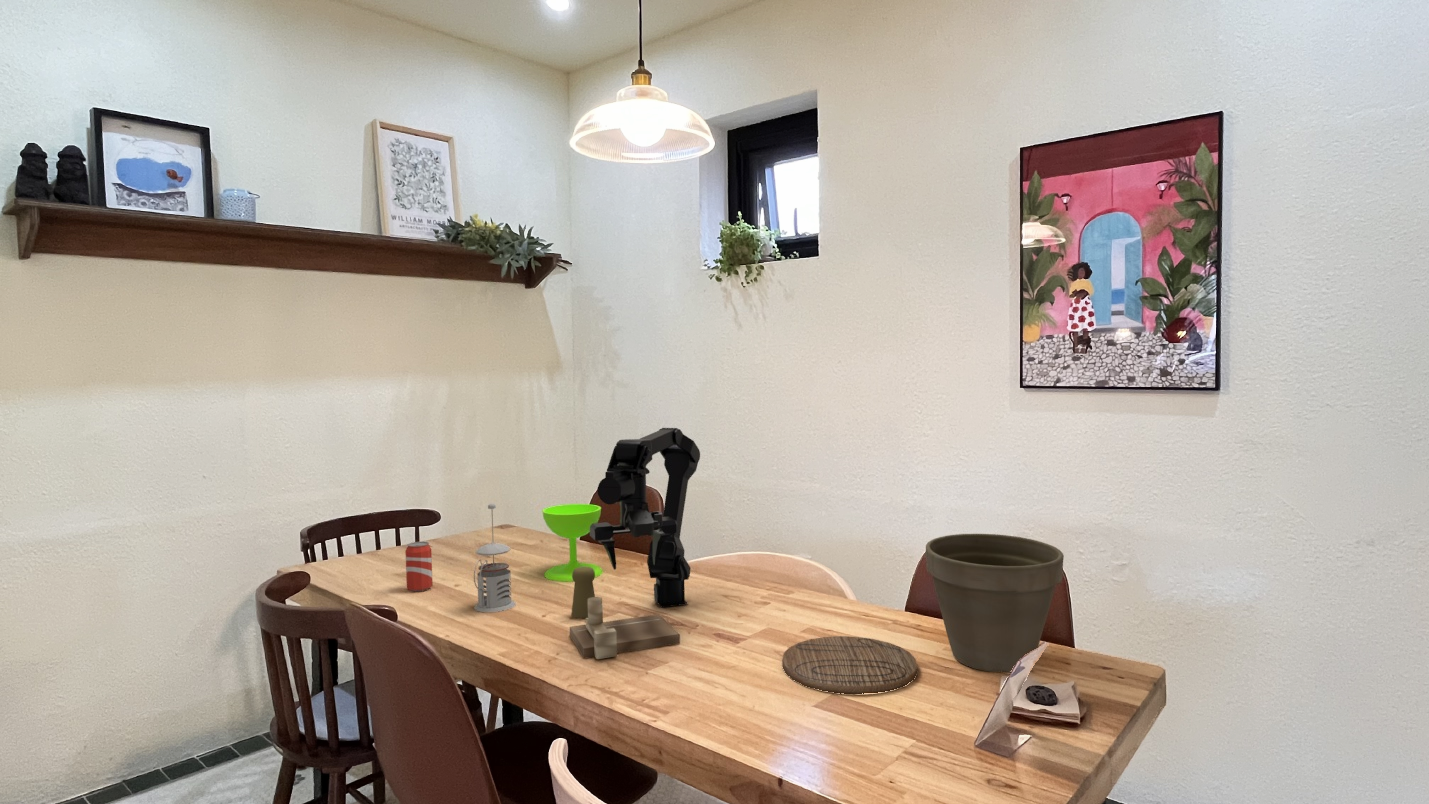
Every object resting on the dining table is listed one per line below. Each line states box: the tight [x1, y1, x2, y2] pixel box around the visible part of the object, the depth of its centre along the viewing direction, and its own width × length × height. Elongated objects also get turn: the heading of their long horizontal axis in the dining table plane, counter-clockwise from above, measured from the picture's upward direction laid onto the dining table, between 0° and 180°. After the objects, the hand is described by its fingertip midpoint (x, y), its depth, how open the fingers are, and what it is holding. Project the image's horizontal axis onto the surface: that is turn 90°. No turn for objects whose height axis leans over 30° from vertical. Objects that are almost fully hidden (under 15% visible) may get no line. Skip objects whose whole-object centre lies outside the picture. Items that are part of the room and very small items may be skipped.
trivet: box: [781, 635, 918, 695], centre depth 148 cm, size 25×25×2 cm
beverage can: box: [404, 541, 434, 593], centre depth 205 cm, size 6×6×12 cm
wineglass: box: [542, 503, 604, 582], centre depth 218 cm, size 16×16×18 cm
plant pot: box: [925, 533, 1065, 674], centre depth 150 cm, size 25×25×22 cm
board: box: [569, 613, 681, 659], centre depth 165 cm, size 20×14×2 cm
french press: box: [473, 502, 517, 613], centre depth 188 cm, size 10×12×25 cm
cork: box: [571, 567, 596, 620], centre depth 182 cm, size 6×6×11 cm
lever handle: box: [585, 596, 618, 660], centre depth 160 cm, size 4×13×9 cm, turn 22°
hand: (634, 566), depth 174 cm, fingers open, 9 cm apart
